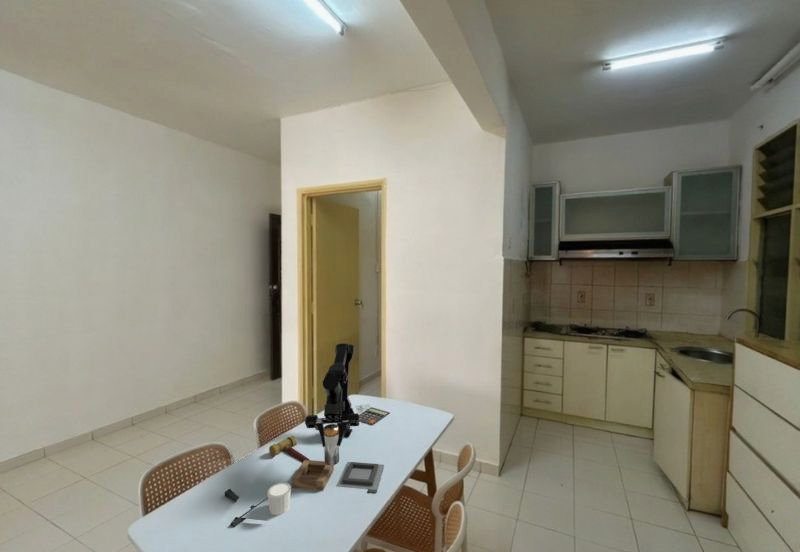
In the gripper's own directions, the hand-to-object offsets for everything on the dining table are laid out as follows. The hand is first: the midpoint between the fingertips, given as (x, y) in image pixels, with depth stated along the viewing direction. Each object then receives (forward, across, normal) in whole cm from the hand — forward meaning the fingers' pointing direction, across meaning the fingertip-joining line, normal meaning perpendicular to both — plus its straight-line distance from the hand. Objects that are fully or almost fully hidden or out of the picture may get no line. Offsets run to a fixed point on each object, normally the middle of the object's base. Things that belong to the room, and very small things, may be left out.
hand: (331, 446), depth 118 cm
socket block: (+8, -6, +11) cm, 15 cm away
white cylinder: (+18, -15, +1) cm, 23 cm away
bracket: (+15, -28, +5) cm, 32 cm away
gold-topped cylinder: (+3, 0, +5) cm, 6 cm away
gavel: (-2, -16, +22) cm, 27 cm away
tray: (+8, +10, +11) cm, 17 cm away
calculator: (-25, +14, +45) cm, 54 cm away
